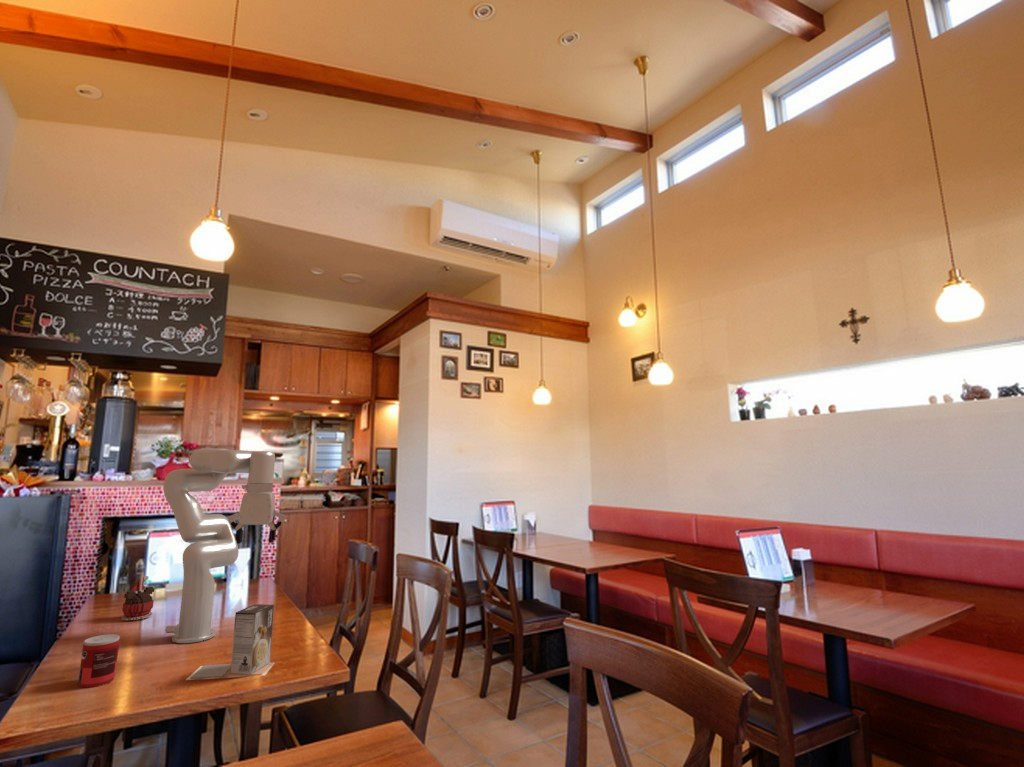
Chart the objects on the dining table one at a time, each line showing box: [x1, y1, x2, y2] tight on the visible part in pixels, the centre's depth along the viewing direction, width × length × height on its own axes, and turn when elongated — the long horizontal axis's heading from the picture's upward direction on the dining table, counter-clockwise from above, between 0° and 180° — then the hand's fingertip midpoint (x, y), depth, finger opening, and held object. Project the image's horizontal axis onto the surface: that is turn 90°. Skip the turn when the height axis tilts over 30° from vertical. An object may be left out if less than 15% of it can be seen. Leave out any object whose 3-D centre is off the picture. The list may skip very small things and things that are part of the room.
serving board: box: [185, 661, 276, 681], centre depth 145 cm, size 20×10×1 cm, turn 100°
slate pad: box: [190, 663, 231, 680], centre depth 144 cm, size 8×9×1 cm
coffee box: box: [230, 603, 275, 674], centre depth 147 cm, size 9×6×16 cm
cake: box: [120, 568, 155, 621], centre depth 200 cm, size 11×9×18 cm
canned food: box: [78, 633, 120, 688], centre depth 140 cm, size 8×8×11 cm
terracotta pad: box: [230, 661, 271, 678], centre depth 146 cm, size 8×9×1 cm
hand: (255, 542), depth 168 cm, fingers open, 9 cm apart
